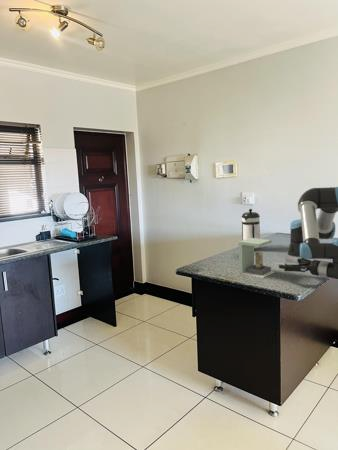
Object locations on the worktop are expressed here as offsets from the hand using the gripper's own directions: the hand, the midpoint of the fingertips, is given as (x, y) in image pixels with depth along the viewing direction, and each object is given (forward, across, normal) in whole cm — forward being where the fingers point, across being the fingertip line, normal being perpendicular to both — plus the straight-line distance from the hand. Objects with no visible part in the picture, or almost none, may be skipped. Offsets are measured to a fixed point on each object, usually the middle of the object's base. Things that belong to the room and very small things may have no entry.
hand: (280, 262), depth 185 cm
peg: (+13, 0, -8) cm, 15 cm away
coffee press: (+48, +48, -8) cm, 68 cm away
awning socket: (+14, -1, -8) cm, 16 cm away
